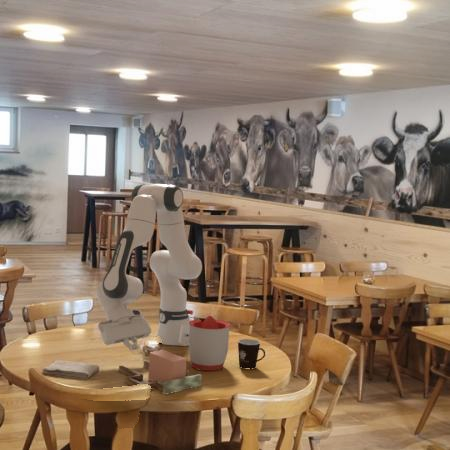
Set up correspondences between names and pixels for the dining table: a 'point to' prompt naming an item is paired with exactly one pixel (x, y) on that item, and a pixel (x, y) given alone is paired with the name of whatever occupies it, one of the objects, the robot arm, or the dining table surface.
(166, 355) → the terracotta block
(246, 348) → the coffee mug
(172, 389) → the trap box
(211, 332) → the citrus juicer
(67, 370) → the washcloth
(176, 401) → the dining table surface
